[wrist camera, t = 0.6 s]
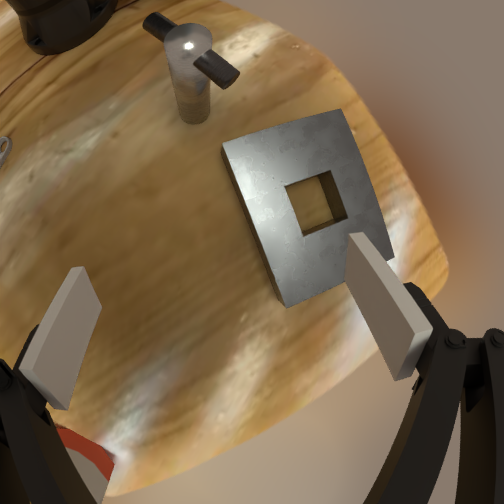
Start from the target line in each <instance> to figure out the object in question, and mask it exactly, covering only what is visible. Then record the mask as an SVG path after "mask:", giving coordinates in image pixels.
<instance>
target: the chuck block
mask: <svg viewBox="0 0 504 504" xmlns="http://www.w3.org/2000/svg"><path fill="white" fill-rule="evenodd" d="M221 155H222V158H223V160H224V163H225V165H226V168H227V170H228V173H229V175H230V178H231V180H232V183H233V185H234V188H235V191H236V193H237V196H238V198H239V201H240V203H241V206H242V208H243V211H244V213H245V216H246V219H247V221H248V224H249V226H250V229H251V231H252V234H253V236H254V239H255V242H256V244H257V247H258V249H259V252H260V254H261V257H262V260H263V262H264V265H265V267H266V270H267V272H268V275H269V278H270V280H271V283H272V285H273V288H274V290H275V293H276V296H277V298H278V300H279V301H280V302H281V303H282V304H283V305H284V306H285V307H286V308H289V307H291V306H293V305H295V304H298V303H300V302H302V301H304V300H307V299H309V298H311V297H313V296H315V295H318V294H320V293H322V292H324V291H326V290H328V289H331V288H333V287H335V286H337V285H339V284H341V283H343V282H345V280H344V277H345V267H346V258H347V247H348V235H349V234H350V233H359V232H363V233H364V234H365V235H366V236H367V238H368V239H369V240H370V242H371V243H372V244H373V245H374V247H375V248H376V249H377V250H378V252H379V253H380V254H381V256H382V257H383V258H384V260H385V261H388V260H390V259H392V258H394V257H395V256H394V253H393V249H392V246H391V242H390V239H389V235H388V232H387V229H386V225H385V222H384V219H383V216H382V213H381V210H380V207H379V204H378V201H377V198H376V195H375V192H374V189H373V186H372V184H371V181H370V178H369V175H368V173H367V170H366V167H365V165H364V162H363V159H362V157H361V154H360V152H359V149H358V147H357V144H356V142H355V140H354V137H353V135H352V132H351V130H350V128H349V125H348V123H347V121H346V119H345V116H344V114H343V112H342V110H341V109H337V110H333V111H328V112H324V113H321V114H317V115H313V116H309V117H305V118H302V119H298V120H295V121H291V122H288V123H284V124H281V125H277V126H274V127H271V128H268V129H264V130H261V131H258V132H255V133H252V134H249V135H246V136H243V137H240V138H237V139H234V140H231V141H228V142H225V143H222V148H221ZM315 176H318V177H319V180H320V182H321V185H322V188H323V190H324V193H325V195H326V198H327V201H328V204H329V206H330V209H331V212H332V215H333V217H334V219H333V220H331V221H328V222H326V223H323V224H321V225H318V226H316V227H314V228H311V229H309V230H306V231H304V232H301V229H300V227H299V224H298V221H297V219H296V216H295V213H294V211H293V208H292V205H291V203H290V200H289V198H288V195H287V192H286V190H285V187H287V186H290V185H293V184H296V183H298V182H301V181H304V180H307V179H310V178H312V177H315Z"/></svg>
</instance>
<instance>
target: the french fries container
mask: <svg viewBox="0 0 504 504" xmlns="http://www.w3.org/2000/svg"><path fill="white" fill-rule="evenodd" d="M57 431H58V433H59V436H60V438H61V440H62V442H63V444H64V446H65V448H66V450H67V452H68V454H69V456H70V458H71V460H72V462H73V463H74V465H75V467H76V469H77V471H78V472H79V474H80V476H81V478H82V479H83V481H84V483H85V484H86V486H87V488H88V489H89V491H90V493H91V494H92V496H93V497H94V499H95V501H96V502H97V504H102V501H103V498H104V495H105V492H106V489H107V486H108V483H109V480H110V477H111V474H112V471H113V468H114V465H115V464H114V463H113V462H112V461H111V459H110V458H109V456H108V455H107V454H106V452H105V451H104V450H103V448H102V447H101V446H99V445H97V444H96V443H94V442H92V441H90V440H88V439H86V438H84V437H82V436H80V435H79V434H77V433H75V432H73V431H72V430H70V429H57ZM30 504H31V502H30Z"/></svg>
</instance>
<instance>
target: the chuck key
mask: <svg viewBox="0 0 504 504" xmlns="http://www.w3.org/2000/svg"><path fill="white" fill-rule="evenodd" d="M143 29H145V30H146V31H148V32H149V33H150V34H152V35H153V36H155V37H156V38H157V39H159V40H160V41H162V42H163V43H164V48H165V53H166V57H167V61H168V66H169V70H170V75H171V79H172V83H173V88H174V92H175V96H176V100H177V104H178V109H179V113H180V116H181V118H182V120H183V121H184V122H186V123H188V124H192V125H195V124H200V123H202V122H204V121H205V120H206V119H207V118H208V116H209V113H210V81H211V80H212V81H213V82H214V83H216V84H217V85H218V86H219V87H220V88H222V89H223V90H224V89H226V88H228V87H229V86H231V85H232V84H233V83H234V82H235V81H236V79H237V78H238V77H239V75H240V72H239V71H238V70H237V69H236V68H234V67H233V66H232V65H231V64H229V63H228V62H227V61H226V60H224V59H223V58H222V57H221V56H219V55H218V54H217V53H215V52H214V51H213V50H212V35H211V33H210V31H209V30H208V29H207V28H206V27H204V26H202V25H200V24H195V23H186V24H182V25H179V26H178V25H177V24H175V23H174V22H172V21H171V20H169V19H168V18H166V17H165V16H163V15H161V14H160V13H158V12H154V13H152V14H150V15H149V16H148V17H147V18H146V19H145V20H144V22H143Z"/></svg>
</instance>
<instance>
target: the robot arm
mask: <svg viewBox="0 0 504 504" xmlns="http://www.w3.org/2000/svg"><path fill="white" fill-rule="evenodd" d="M6 1H7V2H8V4H9V5H10V6H11V7H12V8H13V9H14V10H15V12H16V13H17V14H18V16H19V20H20V25H21V29H22V33H23V37H24V40H25V42H26V43H27V45H28V46H29V47H30V48H31V49H32V50H33V51H34V52H36V53H38V54H41V55H53V54H58V53H61V52H64V51H67V50H69V49H72V48H74V47H76V46H77V45H79V44H81V43H83V42H84V41H86V40H87V39H89V38H90V37H91V36H93V35H94V34H95V33H96V32H97V31H98V30H100V29H101V28H102V27H103V26H104V24H105V23H106V22H107V21H108V20H109V18H110V17H111V15H112V14H113V12H114V10H115V8H116V5H117V0H6ZM344 280H345V282H346V284H347V286H348V288H349V290H350V292H351V294H352V295H353V297H354V299H355V301H356V303H357V305H358V307H359V309H360V311H361V313H362V315H363V317H364V319H365V321H366V323H367V325H368V327H369V329H370V331H371V333H372V335H373V337H374V339H375V341H376V343H377V345H378V347H379V349H380V351H381V353H382V355H383V357H384V359H385V362H386V363H387V366H388V368H389V370H390V372H391V374H392V377H393V379H394V381H397V380H401V379H404V378H407V377H410V376H411V375H412V374H413V371H414V370H415V368H416V369H417V370H418V372H419V374H420V375H419V377H418V379H417V380H416V382H415V384H414V386H413V388H412V390H413V393H412V396H411V399H410V402H409V405H408V408H407V411H406V413H405V416H404V418H403V421H402V424H401V426H400V429H399V431H398V433H397V436H396V438H395V440H394V443H393V445H392V447H391V450H390V452H389V454H388V456H387V459H386V460H385V463H384V465H383V467H382V469H381V471H380V473H379V475H378V477H377V479H376V481H375V483H374V485H373V487H372V488H371V490H370V492H369V494H368V496H367V498H366V499H365V501H364V503H363V504H427V503H428V501H429V498H430V496H431V494H432V491H433V489H434V486H435V484H436V481H437V478H438V476H439V473H440V470H441V467H442V464H443V461H444V458H445V455H446V452H447V449H448V445H449V442H450V439H451V435H452V431H453V428H454V424H455V420H456V415H457V411H458V407H459V403H461V406H460V407H461V408H460V409H461V435H460V459H459V473H458V482H457V491H456V499H455V504H504V332H503V331H501V330H499V329H496V328H492V329H489V330H487V331H486V333H485V335H484V337H483V338H466V336H465V335H464V334H463V333H462V332H460V331H458V330H456V329H449V328H448V326H447V325H446V323H445V322H444V320H443V319H442V317H441V316H440V315H439V313H438V312H437V310H436V309H435V308H434V307H433V305H431V302H430V301H429V299H427V297H426V295H425V294H424V293H423V291H422V290H421V289H420V288H419V287H417V286H416V285H414V284H413V283H412V282H409V283H404V284H402V282H401V281H400V280H399V278H398V277H397V276H396V274H395V273H394V272H393V270H392V269H391V268H390V266H389V265H388V264H387V262H386V261H385V260H384V258H383V257H382V256H381V254H380V253H379V252H378V250H377V249H376V248H375V247H374V245H373V244H372V243H371V242H370V240H369V239H368V238H367V236H366V235H365V234H364V233H363V232H359V233H350V234H349V235H348V247H347V258H346V267H345V277H344ZM101 309H102V306H101V304H100V302H99V300H98V298H97V295H96V293H95V291H94V289H93V286H92V284H91V282H90V280H89V277H88V275H87V273H86V270H85V268H84V266H81V267H73V268H71V270H70V272H69V273H68V275H67V277H66V278H65V280H64V282H63V283H62V285H61V287H60V288H59V290H58V292H57V294H56V295H55V297H54V299H53V301H52V302H51V304H50V306H49V308H48V310H47V312H46V313H45V315H44V317H43V319H42V321H41V323H40V324H38V325H37V326H36V327H35V328H34V329H33V330H32V331H31V332H30V334H29V336H28V338H27V340H26V341H27V342H25V344H24V346H23V349H22V350H21V353H20V355H19V357H18V359H17V361H16V363H15V366H14V368H13V370H11V368H10V367H9V366H8V365H7V363H6V362H5V361H4V360H3V359H0V504H30V502H31V504H97V502H96V501H95V499H94V497H93V496H92V494H91V493H90V491H89V489H88V488H87V486H86V484H85V483H84V481H83V479H82V478H81V476H80V474H79V472H78V471H77V469H76V467H75V465H74V463H73V462H72V460H71V458H70V456H69V454H68V452H67V450H66V448H65V446H64V444H63V442H62V440H61V438H60V436H59V433H58V431H57V429H56V427H55V425H54V422H53V420H52V418H51V415H50V413H49V411H48V410H47V408H46V407H45V406H46V403H47V402H48V403H49V404H50V405H51V406H52V407H53V408H54V409H60V410H68V408H69V404H70V400H71V397H72V394H73V390H74V387H75V383H76V380H77V377H78V374H79V371H80V368H81V365H82V361H83V358H84V356H85V353H86V350H87V347H88V344H89V341H90V338H91V336H92V333H93V330H94V327H95V325H96V322H97V319H98V317H99V314H100V312H101Z"/></svg>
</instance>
